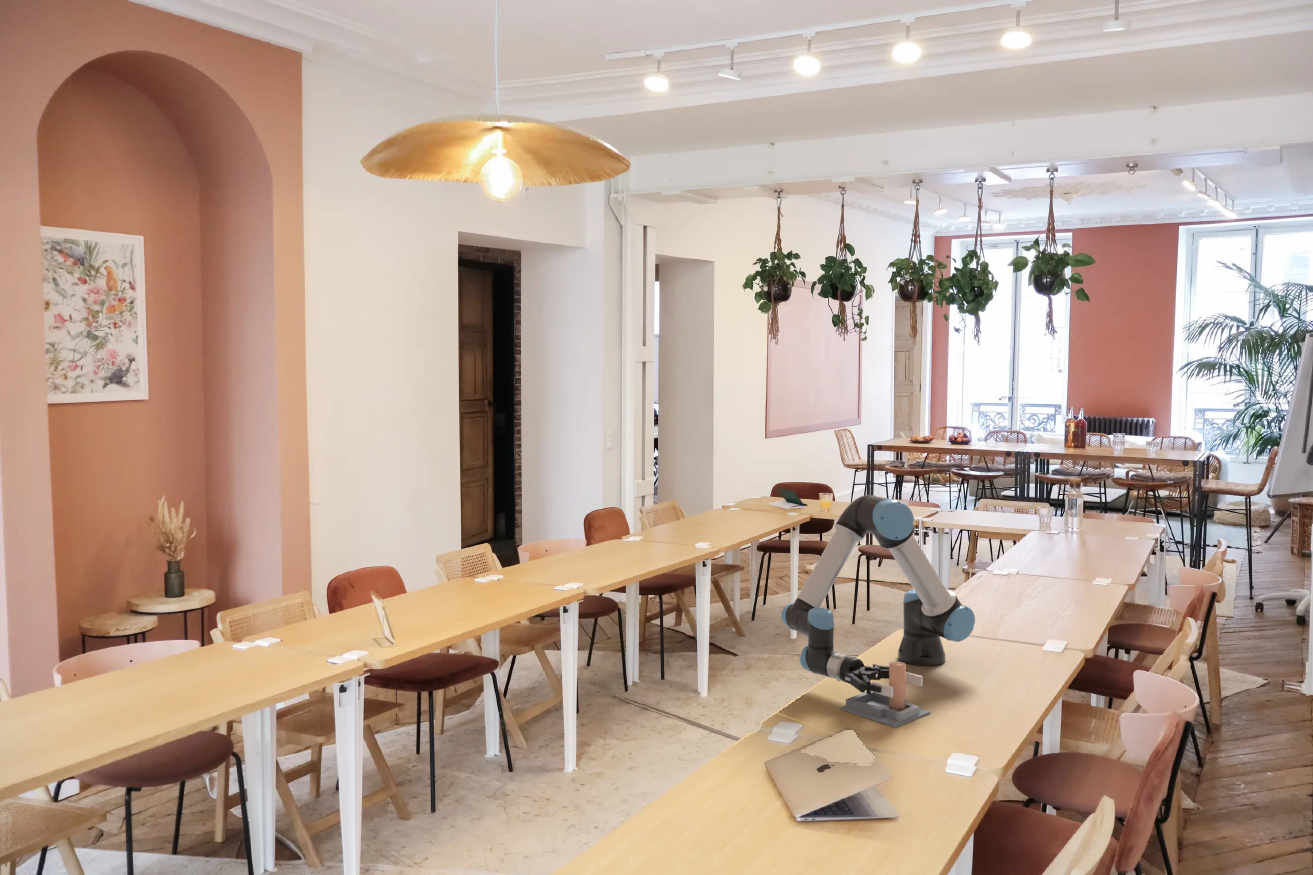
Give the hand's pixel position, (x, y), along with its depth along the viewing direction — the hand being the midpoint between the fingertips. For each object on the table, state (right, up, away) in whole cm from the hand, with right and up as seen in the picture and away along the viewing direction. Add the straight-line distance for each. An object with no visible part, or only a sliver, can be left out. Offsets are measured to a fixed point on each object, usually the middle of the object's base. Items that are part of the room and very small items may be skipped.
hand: (907, 686), depth 269 cm
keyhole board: (-5, -9, +7) cm, 12 cm away
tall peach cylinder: (-2, -8, +3) cm, 9 cm away
